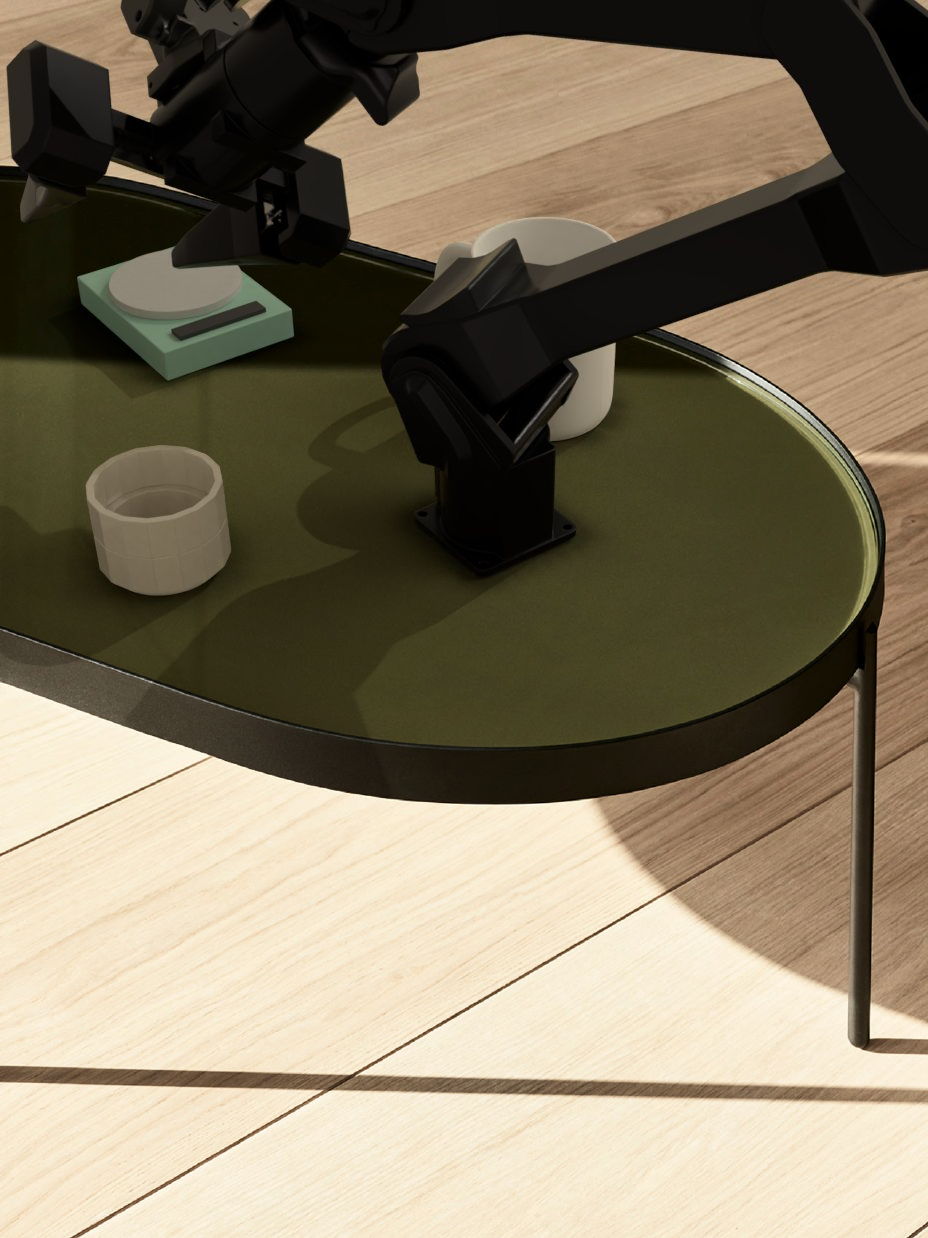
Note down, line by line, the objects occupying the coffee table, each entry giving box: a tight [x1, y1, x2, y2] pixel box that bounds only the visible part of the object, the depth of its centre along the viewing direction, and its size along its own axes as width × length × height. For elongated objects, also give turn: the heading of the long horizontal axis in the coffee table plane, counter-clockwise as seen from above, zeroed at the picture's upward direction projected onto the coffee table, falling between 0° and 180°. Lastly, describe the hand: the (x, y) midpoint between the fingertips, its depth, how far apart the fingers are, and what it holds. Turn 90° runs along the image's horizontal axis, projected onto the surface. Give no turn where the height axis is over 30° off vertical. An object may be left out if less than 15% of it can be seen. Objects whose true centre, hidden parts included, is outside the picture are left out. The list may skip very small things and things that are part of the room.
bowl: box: [85, 444, 232, 597], centre depth 87 cm, size 7×7×5 cm
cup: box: [433, 216, 617, 442], centre depth 97 cm, size 8×12×10 cm
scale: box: [76, 246, 295, 381], centre depth 107 cm, size 12×9×3 cm
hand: (101, 237), depth 90 cm, fingers open, 9 cm apart
